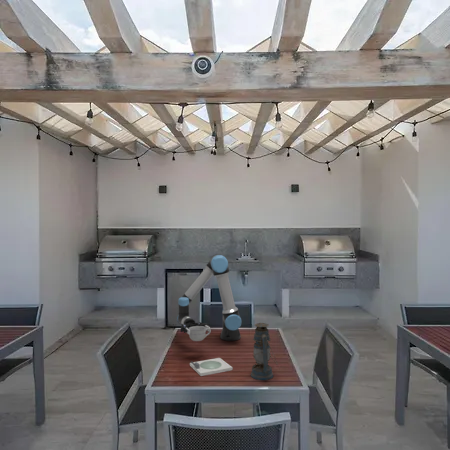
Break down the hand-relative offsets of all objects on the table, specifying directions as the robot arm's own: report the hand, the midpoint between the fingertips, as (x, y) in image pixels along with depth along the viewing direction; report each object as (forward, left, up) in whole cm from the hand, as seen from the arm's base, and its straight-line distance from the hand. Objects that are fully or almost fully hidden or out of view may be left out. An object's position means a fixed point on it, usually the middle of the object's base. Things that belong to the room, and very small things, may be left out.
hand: (199, 331), depth 243 cm
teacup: (0, -1, -6) cm, 6 cm away
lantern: (-22, +40, -18) cm, 49 cm away
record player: (0, +16, -18) cm, 24 cm away
